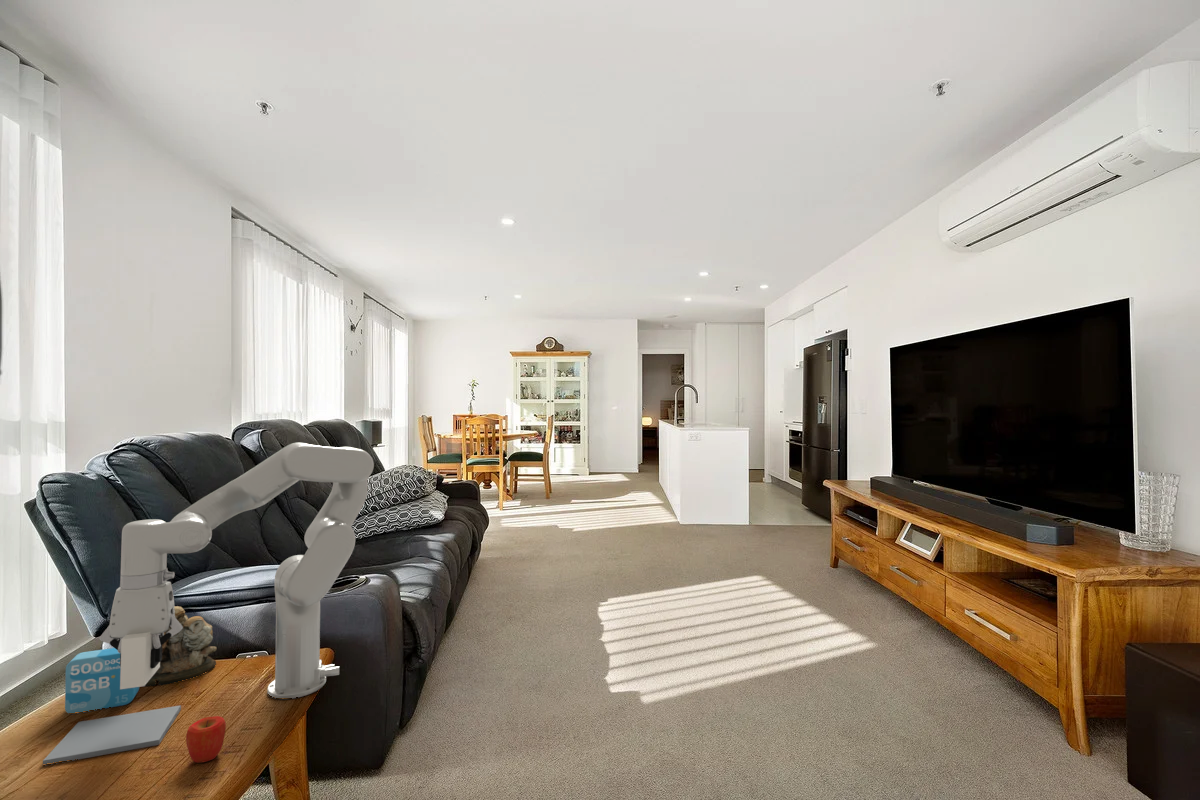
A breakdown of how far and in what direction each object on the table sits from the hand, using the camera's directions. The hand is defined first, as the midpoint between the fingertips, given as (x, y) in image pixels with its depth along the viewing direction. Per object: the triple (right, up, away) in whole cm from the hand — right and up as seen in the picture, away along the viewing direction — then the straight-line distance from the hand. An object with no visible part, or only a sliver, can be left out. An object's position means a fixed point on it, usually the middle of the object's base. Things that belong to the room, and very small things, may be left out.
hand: (141, 666), depth 117 cm
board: (-4, -14, -2) cm, 14 cm away
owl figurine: (-12, -14, +25) cm, 31 cm away
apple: (+20, -14, -9) cm, 26 cm away
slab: (0, -2, 0) cm, 2 cm away
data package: (-17, -14, +10) cm, 24 cm away
